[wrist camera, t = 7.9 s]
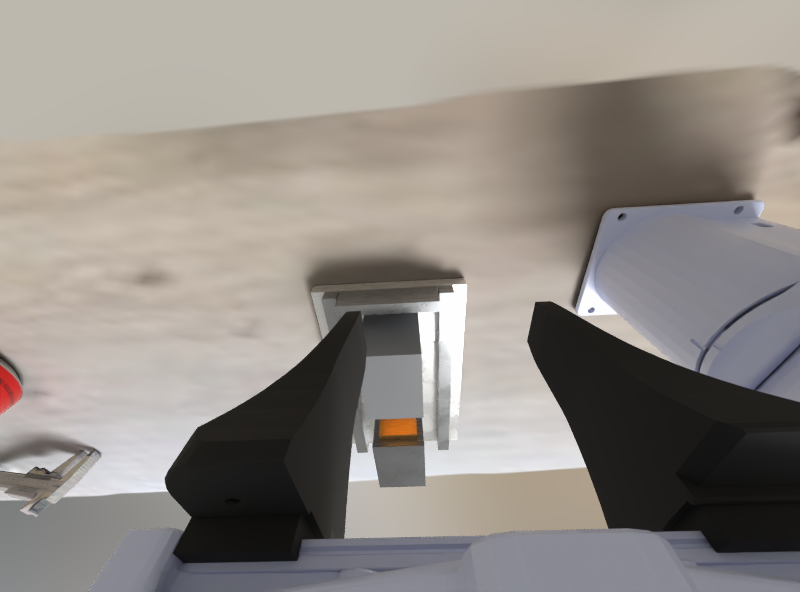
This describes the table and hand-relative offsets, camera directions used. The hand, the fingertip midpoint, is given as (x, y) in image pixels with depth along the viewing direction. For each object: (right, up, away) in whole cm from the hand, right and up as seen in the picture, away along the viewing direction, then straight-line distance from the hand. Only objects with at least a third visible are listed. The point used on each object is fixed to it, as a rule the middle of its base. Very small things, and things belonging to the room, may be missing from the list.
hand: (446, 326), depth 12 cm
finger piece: (-2, -3, +11) cm, 11 cm away
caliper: (-45, -18, +22) cm, 54 cm away
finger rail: (-2, -5, +14) cm, 15 cm away
